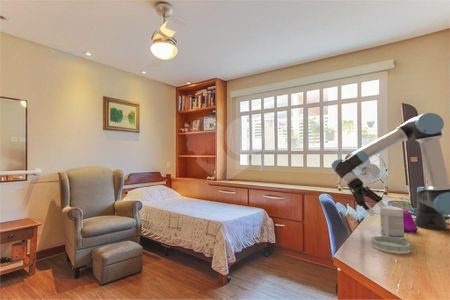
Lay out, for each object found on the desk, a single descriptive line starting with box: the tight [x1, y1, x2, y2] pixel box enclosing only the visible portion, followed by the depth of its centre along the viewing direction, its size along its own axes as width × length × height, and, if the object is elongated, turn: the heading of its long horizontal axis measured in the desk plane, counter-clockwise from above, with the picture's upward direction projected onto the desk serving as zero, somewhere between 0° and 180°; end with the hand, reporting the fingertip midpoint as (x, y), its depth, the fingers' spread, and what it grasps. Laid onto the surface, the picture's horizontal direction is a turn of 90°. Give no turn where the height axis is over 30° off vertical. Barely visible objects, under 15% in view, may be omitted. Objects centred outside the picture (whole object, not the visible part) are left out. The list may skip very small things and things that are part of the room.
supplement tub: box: [379, 206, 405, 240], centre depth 123 cm, size 10×10×15 cm
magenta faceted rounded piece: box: [402, 202, 419, 233], centre depth 137 cm, size 11×11×15 cm
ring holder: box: [371, 235, 412, 255], centre depth 109 cm, size 14×14×3 cm
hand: (381, 213), depth 127 cm, fingers open, 13 cm apart
